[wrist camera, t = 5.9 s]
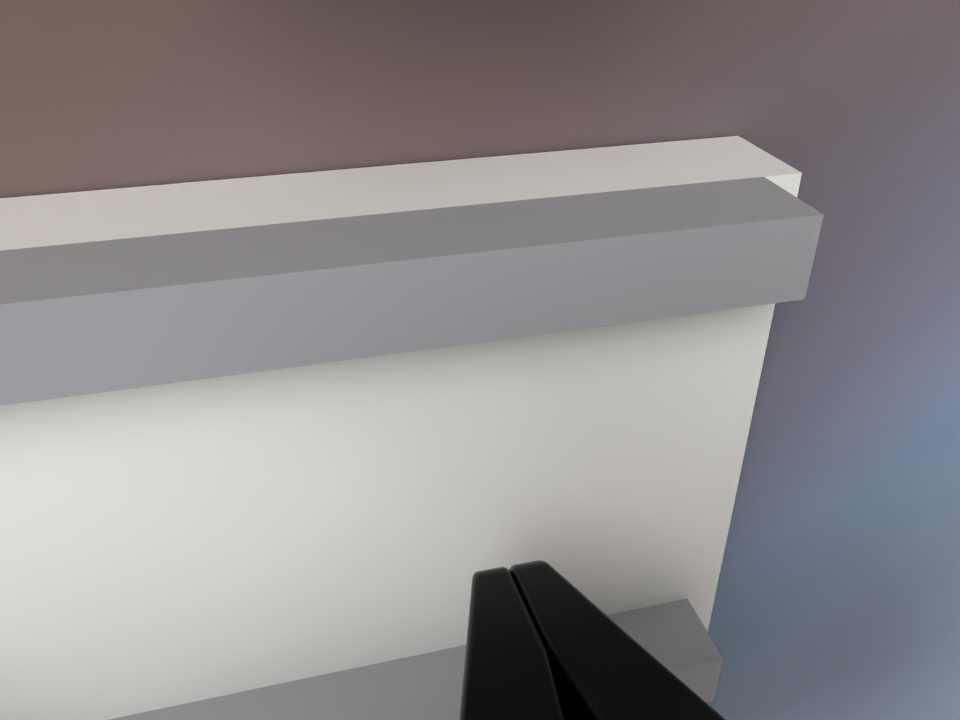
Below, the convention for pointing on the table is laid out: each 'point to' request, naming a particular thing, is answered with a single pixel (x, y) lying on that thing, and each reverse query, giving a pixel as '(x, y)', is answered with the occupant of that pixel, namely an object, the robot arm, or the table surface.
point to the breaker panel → (373, 420)
